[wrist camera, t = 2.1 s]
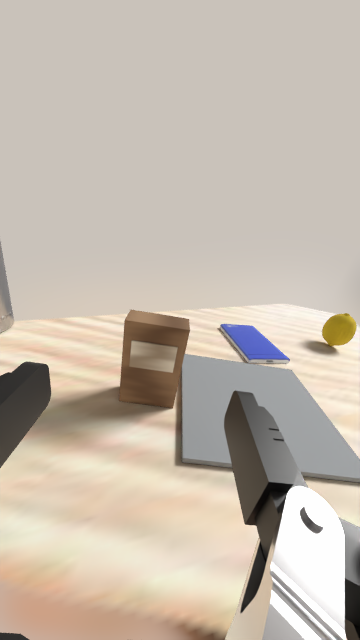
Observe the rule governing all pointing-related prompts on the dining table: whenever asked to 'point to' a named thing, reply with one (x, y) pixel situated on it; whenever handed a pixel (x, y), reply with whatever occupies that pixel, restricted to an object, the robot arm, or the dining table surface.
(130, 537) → the dining table surface
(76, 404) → the dining table surface
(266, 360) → the hard drive
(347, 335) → the lemon
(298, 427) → the grey mat
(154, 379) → the brown cardboard box
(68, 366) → the dining table surface
